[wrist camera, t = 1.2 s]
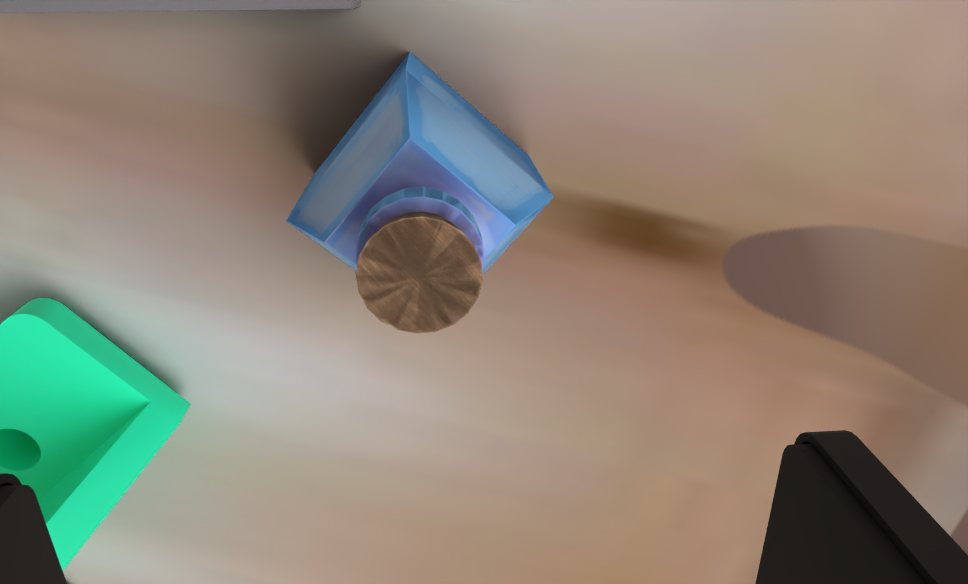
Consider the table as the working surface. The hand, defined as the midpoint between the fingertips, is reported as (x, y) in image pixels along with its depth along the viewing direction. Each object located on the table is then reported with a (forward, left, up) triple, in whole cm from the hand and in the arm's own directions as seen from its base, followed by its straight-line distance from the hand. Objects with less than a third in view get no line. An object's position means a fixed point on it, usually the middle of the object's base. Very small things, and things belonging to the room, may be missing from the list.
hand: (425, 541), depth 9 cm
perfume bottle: (0, 0, -21) cm, 21 cm away
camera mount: (-11, +18, -22) cm, 30 cm away
